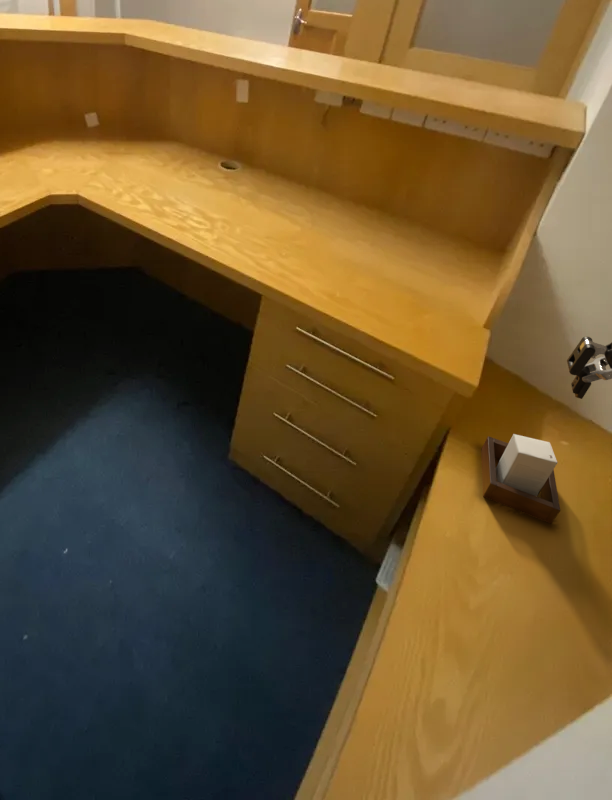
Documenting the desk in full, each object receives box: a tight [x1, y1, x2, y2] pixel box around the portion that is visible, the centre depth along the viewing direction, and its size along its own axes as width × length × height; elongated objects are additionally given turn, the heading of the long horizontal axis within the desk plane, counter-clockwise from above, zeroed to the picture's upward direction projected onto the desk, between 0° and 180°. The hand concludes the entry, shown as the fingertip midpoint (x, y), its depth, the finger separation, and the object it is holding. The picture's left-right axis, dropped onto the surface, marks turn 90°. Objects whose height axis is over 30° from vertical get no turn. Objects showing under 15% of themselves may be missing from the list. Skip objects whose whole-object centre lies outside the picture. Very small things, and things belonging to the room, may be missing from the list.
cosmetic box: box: [495, 433, 559, 497], centre depth 93 cm, size 6×4×12 cm
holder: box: [480, 435, 561, 524], centre depth 95 cm, size 11×11×6 cm
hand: (611, 404), depth 77 cm, fingers open, 8 cm apart
